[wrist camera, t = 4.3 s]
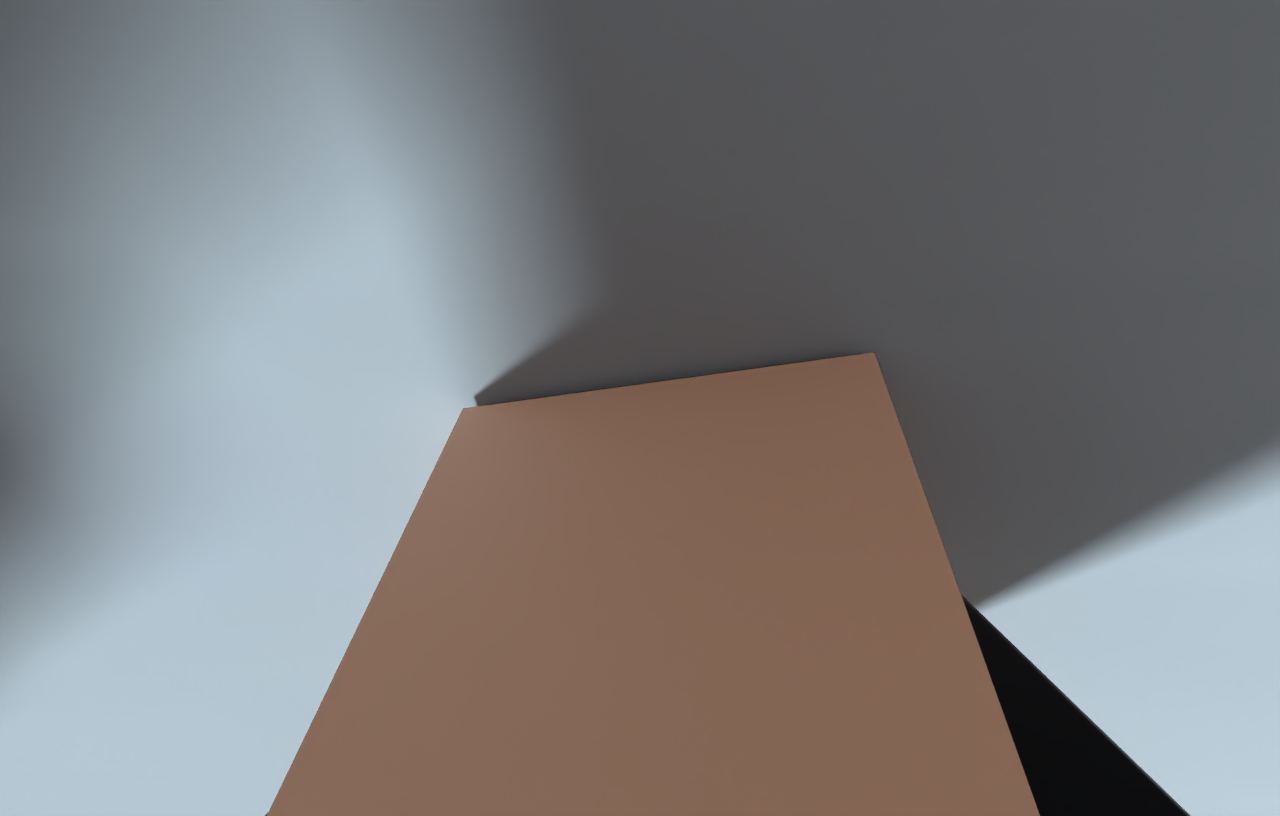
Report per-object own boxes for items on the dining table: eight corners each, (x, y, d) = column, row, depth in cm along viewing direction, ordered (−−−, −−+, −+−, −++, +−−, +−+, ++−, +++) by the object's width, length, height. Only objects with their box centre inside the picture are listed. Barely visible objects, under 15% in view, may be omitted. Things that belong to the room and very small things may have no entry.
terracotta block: (559, 684, 12) (402, 1505, 6) (462, 408, 9) (40, 1284, 4) (893, 656, 11) (1112, 1562, 5) (874, 352, 9) (1224, 1331, 3)
